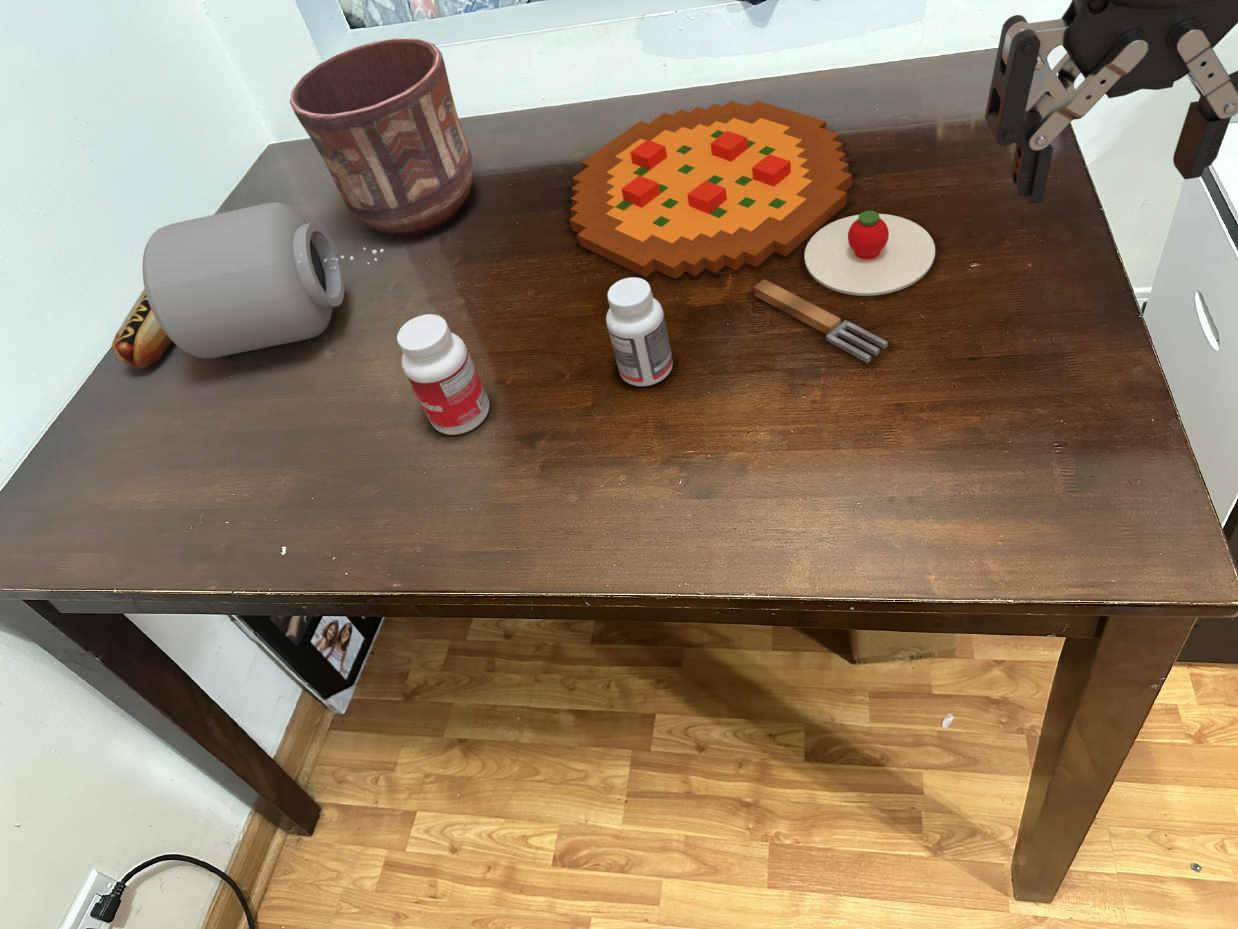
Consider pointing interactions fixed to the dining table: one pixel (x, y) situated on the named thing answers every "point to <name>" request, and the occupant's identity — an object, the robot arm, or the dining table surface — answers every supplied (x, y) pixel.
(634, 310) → the pill bottle
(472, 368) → the pill bottle
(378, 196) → the pottery
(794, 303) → the fork
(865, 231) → the strawberry
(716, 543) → the dining table surface
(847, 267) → the plate
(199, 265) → the jar
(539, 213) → the dining table surface
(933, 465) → the dining table surface
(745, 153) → the pizza
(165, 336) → the hot dog
